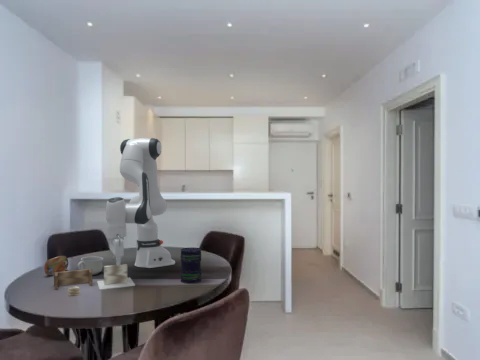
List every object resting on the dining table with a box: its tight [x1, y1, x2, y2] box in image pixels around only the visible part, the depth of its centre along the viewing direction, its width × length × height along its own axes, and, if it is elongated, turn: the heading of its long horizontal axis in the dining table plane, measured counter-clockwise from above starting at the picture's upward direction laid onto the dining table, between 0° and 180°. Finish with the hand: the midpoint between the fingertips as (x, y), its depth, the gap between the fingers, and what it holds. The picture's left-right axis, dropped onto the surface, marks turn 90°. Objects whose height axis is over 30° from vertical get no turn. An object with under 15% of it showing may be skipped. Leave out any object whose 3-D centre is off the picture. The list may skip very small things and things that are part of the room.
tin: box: [43, 255, 69, 277], centre depth 186 cm, size 15×3×8 cm, turn 168°
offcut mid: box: [67, 289, 81, 296], centre depth 152 cm, size 4×3×1 cm
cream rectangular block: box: [103, 263, 128, 285], centre depth 168 cm, size 10×2×8 cm, turn 116°
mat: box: [96, 277, 136, 291], centre depth 167 cm, size 15×14×1 cm
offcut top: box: [67, 285, 81, 292], centre depth 152 cm, size 4×3×1 cm
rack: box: [53, 269, 93, 291], centre depth 164 cm, size 16×7×6 cm, turn 116°
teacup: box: [77, 255, 104, 276], centre depth 184 cm, size 14×11×8 cm
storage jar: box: [179, 247, 202, 284], centre depth 173 cm, size 10×10×15 cm
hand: (116, 262), depth 168 cm, fingers open, 8 cm apart
